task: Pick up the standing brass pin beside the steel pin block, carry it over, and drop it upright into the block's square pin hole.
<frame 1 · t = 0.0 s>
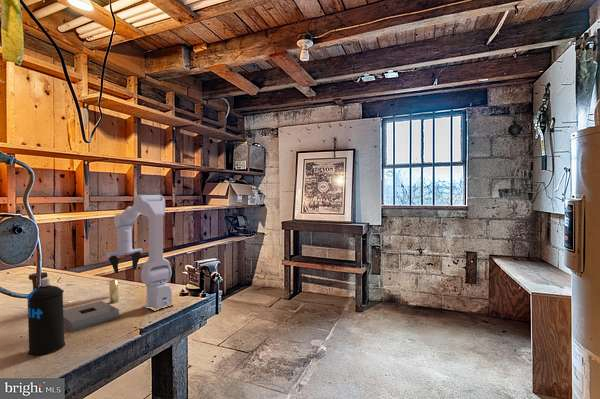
hand: (125, 271, 138), 10 cm above the table, tool pointing down, fingers open, 7 cm apart
bolt: (39, 314, 116), on the table
aerosol can: (47, 349, 87), on the table
brass pin: (114, 302, 127), on the table
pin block: (88, 318, 109), on the table
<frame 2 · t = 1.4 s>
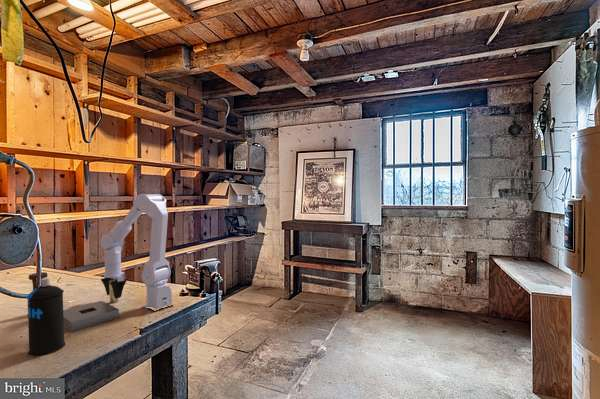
hand: (113, 296, 127), 2 cm above the table, tool pointing down, fingers open, 7 cm apart
nothing on the table moved.
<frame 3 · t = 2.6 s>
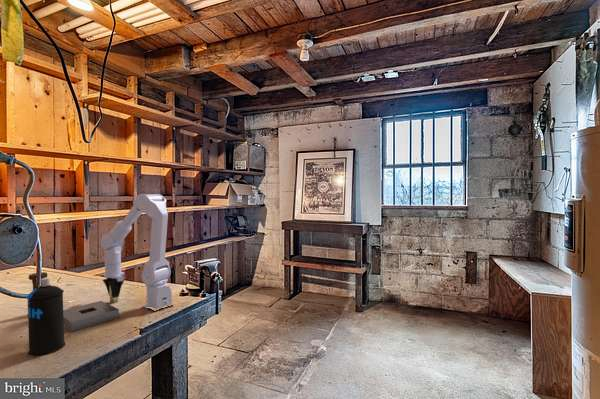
hand: (114, 296, 127), 2 cm above the table, tool pointing down, fingers closed on brass pin, 3 cm apart
brass pin: (114, 302, 127), on the table, touching gripper
everything else where it was.
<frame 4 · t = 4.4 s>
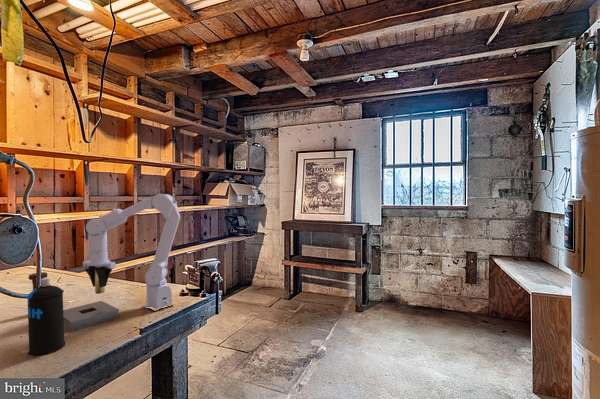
hand: (99, 286, 117), 9 cm above the table, tool pointing down, fingers closed on brass pin, 3 cm apart
brass pin: (99, 292, 117), point 7 cm above the table, touching gripper
everything else where it was.
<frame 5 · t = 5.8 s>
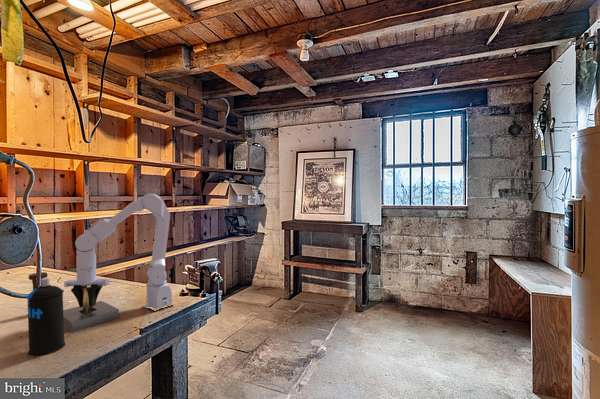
hand: (87, 306, 109), 5 cm above the table, tool pointing down, fingers closed on brass pin, 3 cm apart
brass pin: (87, 313, 109), point 2 cm above the table, touching gripper
everything else where it was.
when the fingers open (4 cm above the table, at t = 6.7 s): brass pin drops 1 cm, resting in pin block.
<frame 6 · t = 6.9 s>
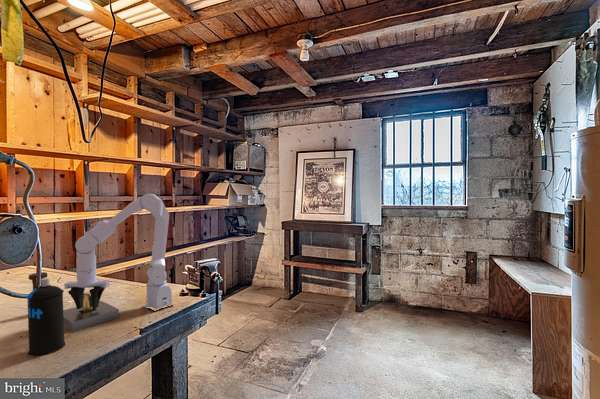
hand: (87, 308, 109), 4 cm above the table, tool pointing down, fingers open, 5 cm apart
brass pin: (88, 319, 109), resting in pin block
everything else where it was.
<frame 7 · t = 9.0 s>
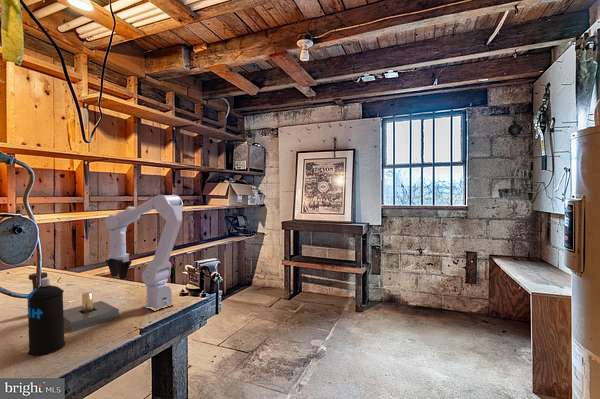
hand: (118, 277, 125), 10 cm above the table, tool pointing down, fingers open, 7 cm apart
nothing on the table moved.
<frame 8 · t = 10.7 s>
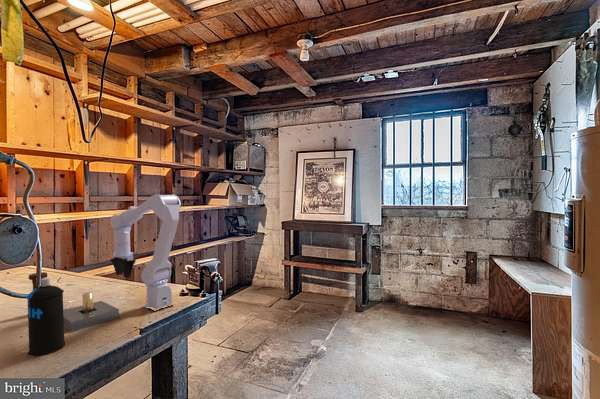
hand: (123, 276, 128), 10 cm above the table, tool pointing down, fingers open, 7 cm apart
nothing on the table moved.
at the end: brass pin 0.0 cm off-centre on the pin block, point 0.0 cm above the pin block's base; brass pin tilted 0°; the gripper is holding nothing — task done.
